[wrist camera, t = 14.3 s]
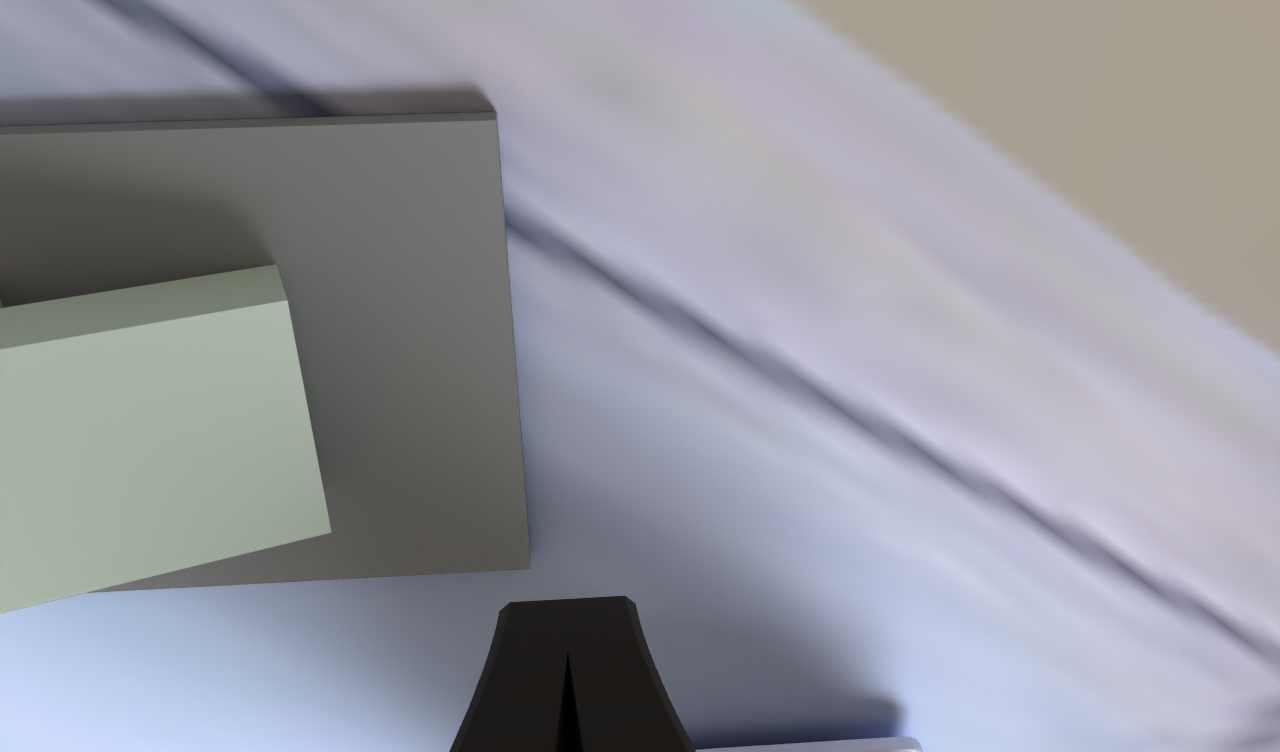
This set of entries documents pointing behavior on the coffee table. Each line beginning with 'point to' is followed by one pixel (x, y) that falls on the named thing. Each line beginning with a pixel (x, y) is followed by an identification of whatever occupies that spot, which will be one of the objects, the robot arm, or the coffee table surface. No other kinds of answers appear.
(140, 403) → the sage domino
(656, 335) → the coffee table surface
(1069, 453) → the coffee table surface
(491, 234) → the mat
